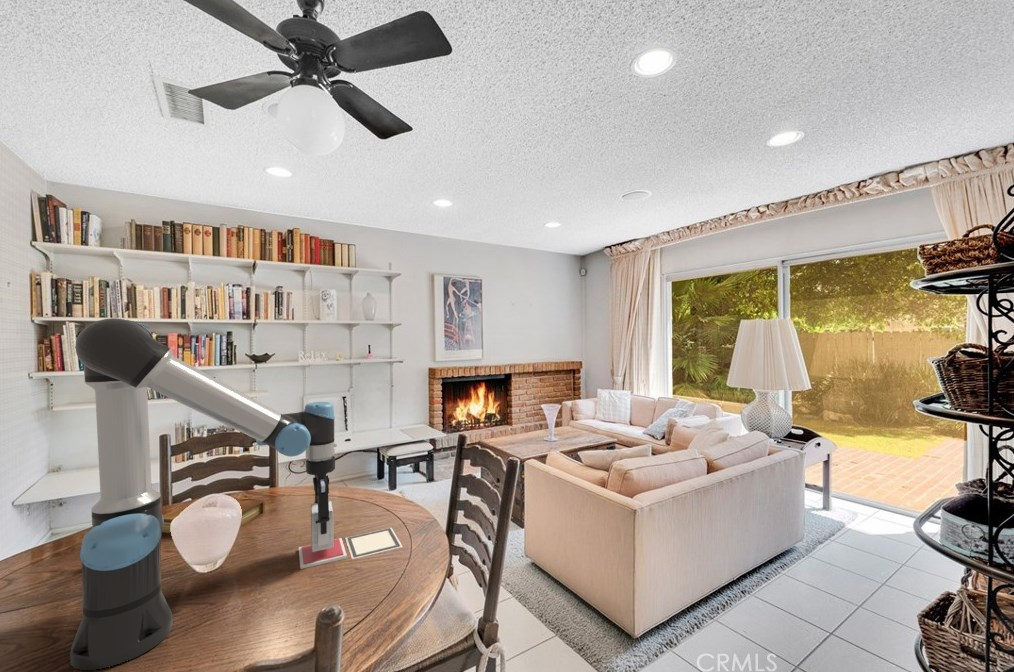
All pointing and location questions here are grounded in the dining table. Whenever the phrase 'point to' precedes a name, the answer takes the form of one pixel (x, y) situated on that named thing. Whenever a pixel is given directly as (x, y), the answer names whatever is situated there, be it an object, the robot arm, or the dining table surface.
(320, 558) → the ink pad
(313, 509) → the small box
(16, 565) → the dining table surface
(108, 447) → the robot arm
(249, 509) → the diary
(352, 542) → the card
